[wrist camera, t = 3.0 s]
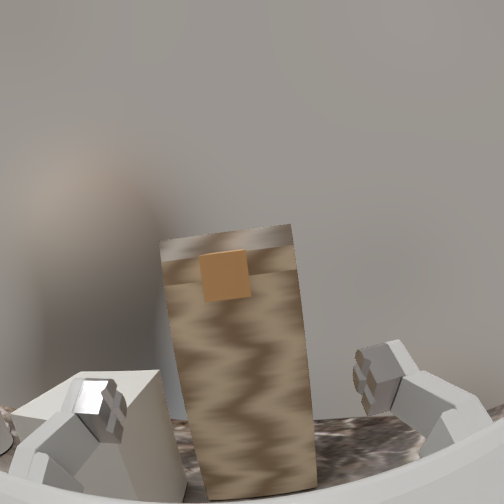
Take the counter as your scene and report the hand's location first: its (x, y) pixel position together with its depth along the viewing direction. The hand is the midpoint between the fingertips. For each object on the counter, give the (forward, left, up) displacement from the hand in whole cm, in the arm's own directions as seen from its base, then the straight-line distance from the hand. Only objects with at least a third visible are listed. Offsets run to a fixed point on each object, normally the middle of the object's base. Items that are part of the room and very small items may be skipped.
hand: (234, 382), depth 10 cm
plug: (0, +17, +2) cm, 17 cm away
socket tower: (0, +23, -21) cm, 32 cm away
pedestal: (-14, +15, -21) cm, 30 cm away
